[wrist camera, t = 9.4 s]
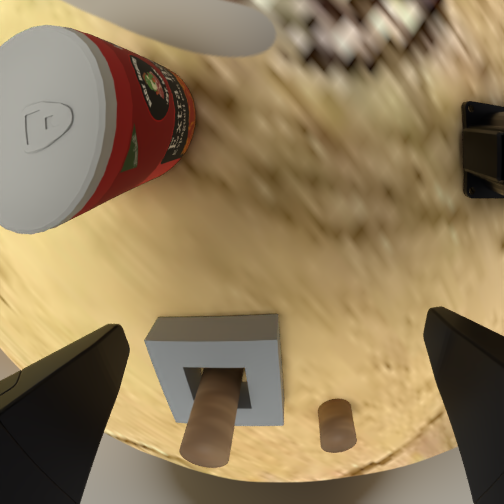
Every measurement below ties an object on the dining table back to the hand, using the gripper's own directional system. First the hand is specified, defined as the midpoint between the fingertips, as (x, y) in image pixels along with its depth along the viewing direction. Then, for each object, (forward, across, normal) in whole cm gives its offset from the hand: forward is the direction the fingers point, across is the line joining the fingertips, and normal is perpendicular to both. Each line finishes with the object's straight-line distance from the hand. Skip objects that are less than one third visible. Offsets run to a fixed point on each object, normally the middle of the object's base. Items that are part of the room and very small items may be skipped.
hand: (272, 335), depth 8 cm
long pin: (+12, +5, +12) cm, 17 cm away
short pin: (+12, -4, +18) cm, 22 cm away
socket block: (+12, +5, +12) cm, 17 cm away
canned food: (+12, +8, -7) cm, 16 cm away
